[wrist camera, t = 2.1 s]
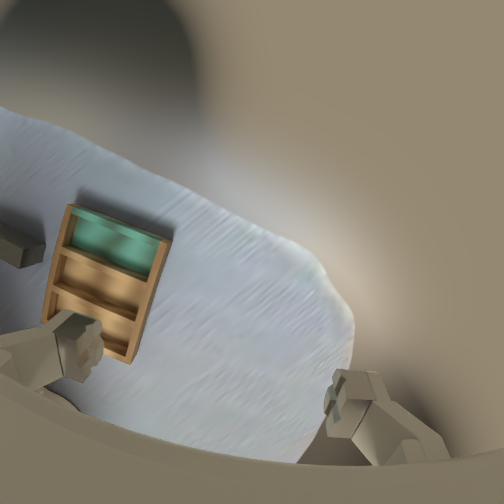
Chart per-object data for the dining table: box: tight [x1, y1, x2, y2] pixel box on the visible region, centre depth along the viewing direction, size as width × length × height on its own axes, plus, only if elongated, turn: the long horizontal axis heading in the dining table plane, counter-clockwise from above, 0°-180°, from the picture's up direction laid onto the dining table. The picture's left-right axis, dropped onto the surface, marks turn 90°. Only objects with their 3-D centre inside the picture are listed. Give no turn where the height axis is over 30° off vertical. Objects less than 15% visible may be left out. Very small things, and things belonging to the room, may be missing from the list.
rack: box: [41, 204, 172, 365], centre depth 43 cm, size 16×19×4 cm
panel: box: [0, 222, 46, 269], centre depth 39 cm, size 12×3×7 cm, turn 69°
